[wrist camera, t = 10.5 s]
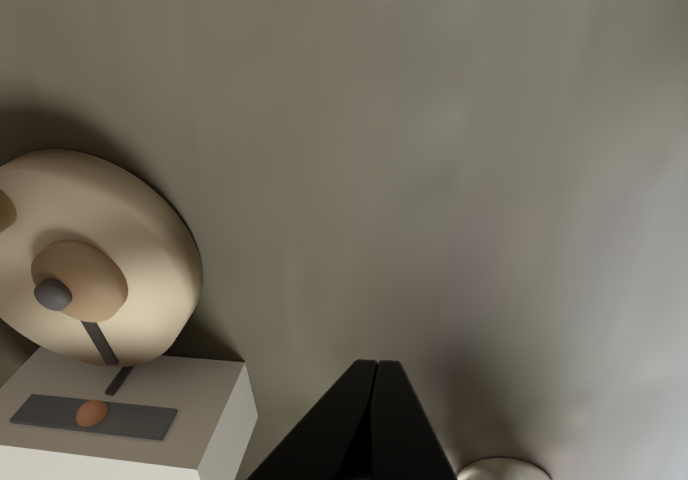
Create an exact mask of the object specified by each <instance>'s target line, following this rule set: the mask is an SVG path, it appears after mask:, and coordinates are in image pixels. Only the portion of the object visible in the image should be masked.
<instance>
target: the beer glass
mask: <svg viewBox="0 0 688 480" xmlns="http://www.w3.org/2000/svg"><path fill="white" fill-rule="evenodd" d="M457 478H458V480H551V479H550V477H549V476H548V475H547V474H546V473H545V472H544V471H543V470H541V469H540V468H538V467H536V466H535V465H533V464H530V463H528V462H525V461H522V460H517V459H512V458H488V459H482V460H479V461H476V462H473V463H471V464H469V465H467V466H466V467H465V468H463V469H462V470H461V471H460V472H459V474H458V476H457Z"/></svg>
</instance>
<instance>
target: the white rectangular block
mask: <svg viewBox="0 0 688 480" xmlns="http://www.w3.org/2000/svg"><path fill="white" fill-rule="evenodd" d="M257 418H258V414H257V410H256V406H255V401H254V397H253V393H252V389H251V385H250V381H249V376H248V372H247V368H246V364H245V362H235V361H223V360H211V359H199V358H187V357H175V356H164V355H160V356H159V357H157V358H155V359H153V360H151V361H149V362H146V363H143V364H139V365H135V366H128V367H106V366H97V365H92V364H87V363H83V362H79V361H76V360H72V359H70V358H67V357H64V356H61V355H59V354H57V353H54V352H52V351H50V350H48V349H46V348H44V347H42V346H41V347H40V348H39V349H38V350H37V351H36V352H35V353H34V354H33V355H32V356H31V357H30V358H29V359H28V360H27V361H26V362H25V363H24V364H23V365H22V367H21V368H20V369H19V370H18V371H17V372H16V373H15V374H14V375H13V376H12V377H11V378H10V379H9V380H8V381H7V382H6V383H5V384H4V385H3V387H2V388H1V389H0V480H235V477H236V474H237V471H238V469H239V466H240V463H241V461H242V458H243V455H244V453H245V450H246V447H247V445H248V442H249V439H250V437H251V434H252V431H253V429H254V426H255V423H256V420H257Z"/></svg>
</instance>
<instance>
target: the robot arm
mask: <svg viewBox="0 0 688 480" xmlns="http://www.w3.org/2000/svg"><path fill="white" fill-rule="evenodd" d="M246 480H458V478H457V476H456V474H455V472H454V470H453V468H452V466H451V464H450V462H449V460H448V458H447V456H446V454H445V452H444V450H443V448H442V446H441V444H440V442H439V440H438V438H437V436H436V433H435V431H434V429H433V427H432V425H431V423H430V421H429V419H428V417H427V415H426V413H425V411H424V409H423V407H422V405H421V403H420V401H419V399H418V397H417V395H416V393H415V391H414V388H413V386H412V384H411V382H410V380H409V378H408V376H407V374H406V372H405V370H404V368H403V366H402V364H401V363H400V362H399V361H390V360H381V361H379V363H377V361H376V360H361V359H358V360H356V361H355V362H354V363H353V364H352V365H351V366H350V367H349V368H348V369H347V370H346V371H345V372H344V373H343V375H342V376H341V377H340V378H339V379H338V380H337V381H336V382H335V383H334V384H333V385H332V386H331V388H330V389H329V390H328V391H327V392H326V393H325V394H324V395H323V396H322V397H321V398H320V399H319V401H318V402H317V403H316V404H315V405H314V406H313V407H312V408H311V409H310V410H309V411H308V413H307V414H306V415H305V416H304V417H303V418H302V419H301V420H300V421H299V422H298V423H297V424H296V426H295V427H294V428H293V429H292V430H291V431H290V432H289V433H288V434H287V435H286V436H285V438H284V439H283V440H282V441H281V442H280V443H279V444H278V445H277V446H276V447H275V448H274V449H273V451H272V452H271V453H270V454H269V455H268V456H267V457H266V458H265V459H264V460H263V461H262V462H261V464H260V465H259V466H258V467H257V468H256V469H255V470H254V471H253V472H252V473H251V474H250V476H249V477H248V478H247V479H246Z"/></svg>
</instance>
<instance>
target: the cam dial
mask: <svg viewBox="0 0 688 480" xmlns="http://www.w3.org/2000/svg"><path fill="white" fill-rule="evenodd" d="M202 287H203V272H202V264H201V261H200V257H199V253H198V250H197V248H196V246H195V243H194V241H193V238H192V237H191V235H190V233H189V231H188V230H187V228H186V226H185V225H184V223H183V222H182V220H181V219H180V218H179V216H178V215H177V214H176V212H175V211H174V210H173V209H172V208H171V207H170V206H169V204H168V203H167V202H166V201H165V200H164V199H163V198H162V197H161V196H160V195H159V194H158V193H156V192H155V191H154V190H153V189H152V188H151V187H149V186H148V185H147V184H145V183H144V182H143V181H142V180H140V179H139V178H137V177H136V176H134V175H133V174H131V173H129V172H128V171H126V170H125V169H123V168H121V167H119V166H117V165H115V164H113V163H111V162H109V161H106V160H103V159H101V158H98V157H96V156H93V155H89V154H85V153H81V152H77V151H71V150H63V149H45V150H39V151H33V152H30V153H27V154H24V155H21V156H19V157H17V158H15V159H14V160H12V161H10V162H8V163H6V164H4V165H3V166H1V167H0V318H1V319H2V320H4V321H5V322H6V323H7V324H8V325H9V326H11V327H12V328H14V329H15V330H16V331H18V332H19V333H20V334H22V335H23V336H25V337H27V338H28V339H30V340H31V341H33V342H35V343H36V344H38V345H40V346H42V347H44V348H46V349H48V350H50V351H52V352H54V353H57V354H59V355H61V356H64V357H67V358H70V359H72V360H76V361H79V362H83V363H87V364H92V365H97V366H106V367H128V366H135V365H139V364H143V363H146V362H149V361H151V360H153V359H155V358H157V357H159V356H160V355H162V354H163V353H164V352H165V351H166V350H167V349H168V348H169V347H170V346H171V345H172V344H173V342H174V341H175V339H176V338H177V336H178V335H179V333H180V331H181V330H182V328H183V327H184V325H185V324H186V322H187V321H188V319H189V317H190V316H191V314H192V313H193V311H194V310H195V308H196V307H197V304H198V302H199V299H200V297H201V292H202Z"/></svg>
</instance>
